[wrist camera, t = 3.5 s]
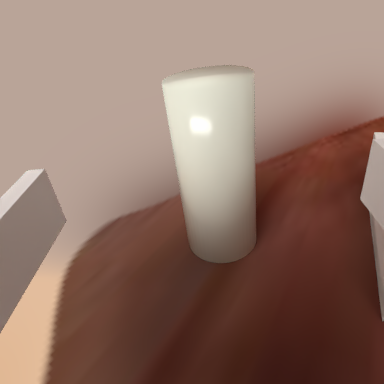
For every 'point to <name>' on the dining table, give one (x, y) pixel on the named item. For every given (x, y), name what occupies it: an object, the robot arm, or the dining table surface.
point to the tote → (378, 248)
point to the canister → (215, 157)
